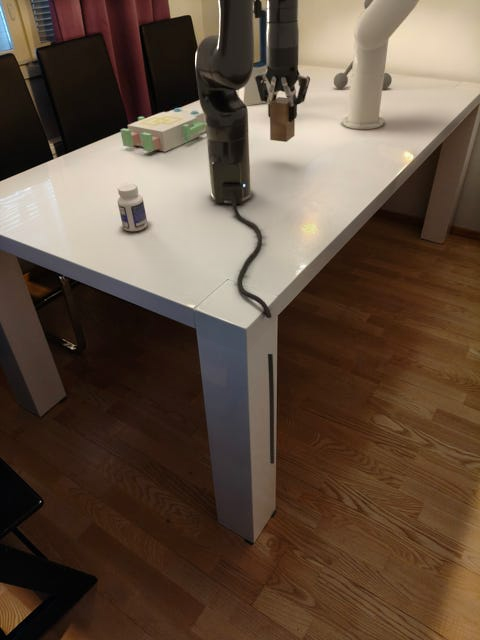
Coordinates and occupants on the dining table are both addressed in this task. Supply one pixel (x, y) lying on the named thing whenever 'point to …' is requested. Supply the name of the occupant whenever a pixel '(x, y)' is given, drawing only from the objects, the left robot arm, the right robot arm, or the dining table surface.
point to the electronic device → (257, 67)
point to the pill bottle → (131, 208)
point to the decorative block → (164, 130)
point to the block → (281, 120)
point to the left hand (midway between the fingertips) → (282, 119)
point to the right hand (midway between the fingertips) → (272, 17)
